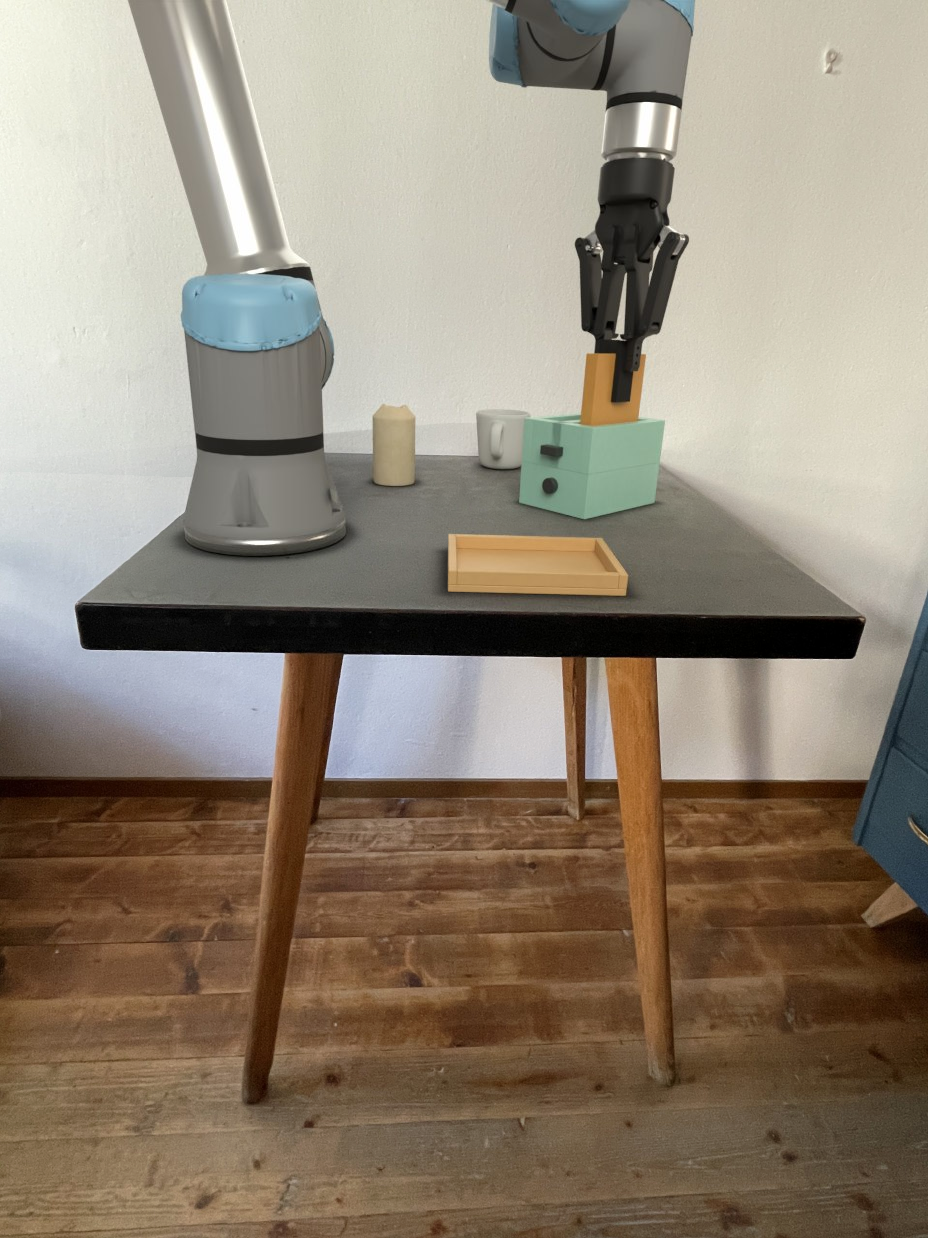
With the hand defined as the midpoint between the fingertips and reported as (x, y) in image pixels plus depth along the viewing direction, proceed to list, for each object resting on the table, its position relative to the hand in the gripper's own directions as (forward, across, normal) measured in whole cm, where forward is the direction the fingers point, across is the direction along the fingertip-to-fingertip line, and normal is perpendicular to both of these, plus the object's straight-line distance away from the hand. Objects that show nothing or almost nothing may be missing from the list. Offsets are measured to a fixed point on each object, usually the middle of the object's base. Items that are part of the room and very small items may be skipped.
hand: (612, 400), depth 84 cm
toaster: (+12, +2, 0) cm, 13 cm away
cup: (+13, +24, -7) cm, 28 cm away
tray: (+12, -12, +26) cm, 31 cm away
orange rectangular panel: (+7, 0, 0) cm, 7 cm away
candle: (+13, +25, +12) cm, 31 cm away
